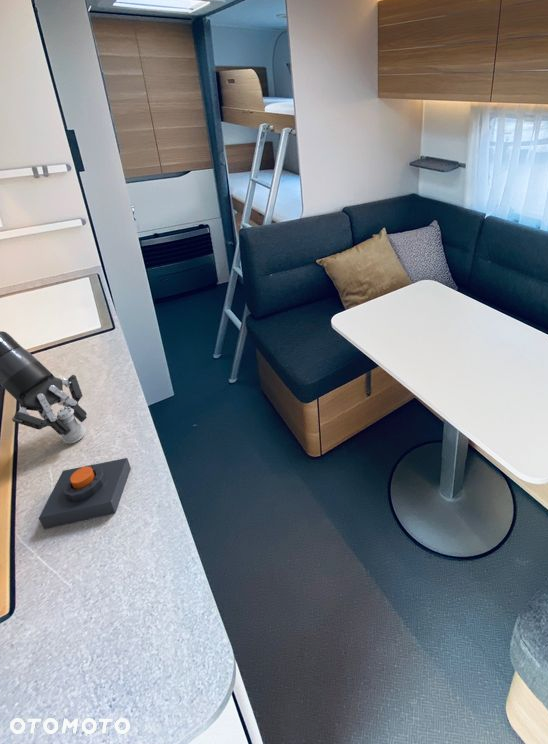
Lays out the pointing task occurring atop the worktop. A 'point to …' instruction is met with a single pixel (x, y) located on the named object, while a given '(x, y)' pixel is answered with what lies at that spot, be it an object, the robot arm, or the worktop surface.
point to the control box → (86, 495)
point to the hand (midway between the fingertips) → (76, 426)
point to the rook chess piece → (71, 425)
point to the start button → (82, 477)
